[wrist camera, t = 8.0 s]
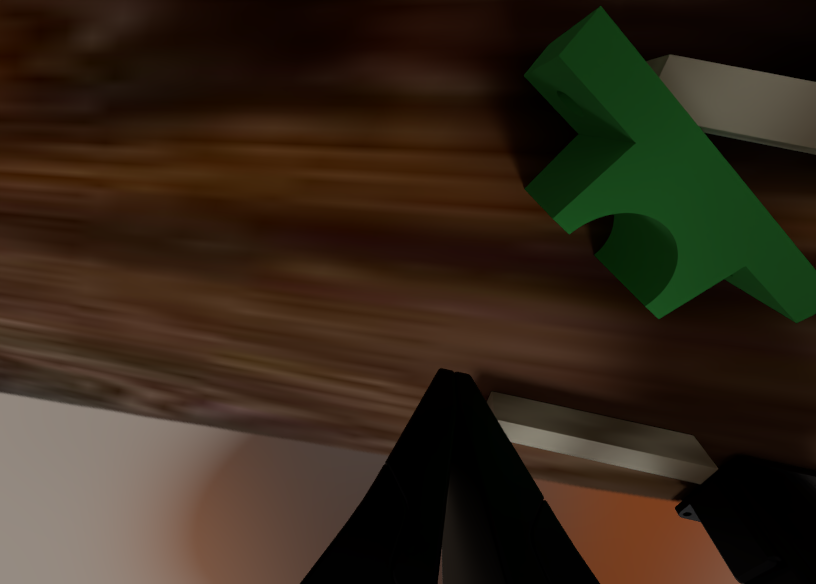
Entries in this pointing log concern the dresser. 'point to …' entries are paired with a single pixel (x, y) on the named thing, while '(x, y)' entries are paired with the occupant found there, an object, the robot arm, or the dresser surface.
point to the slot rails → (715, 114)
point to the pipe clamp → (656, 182)
